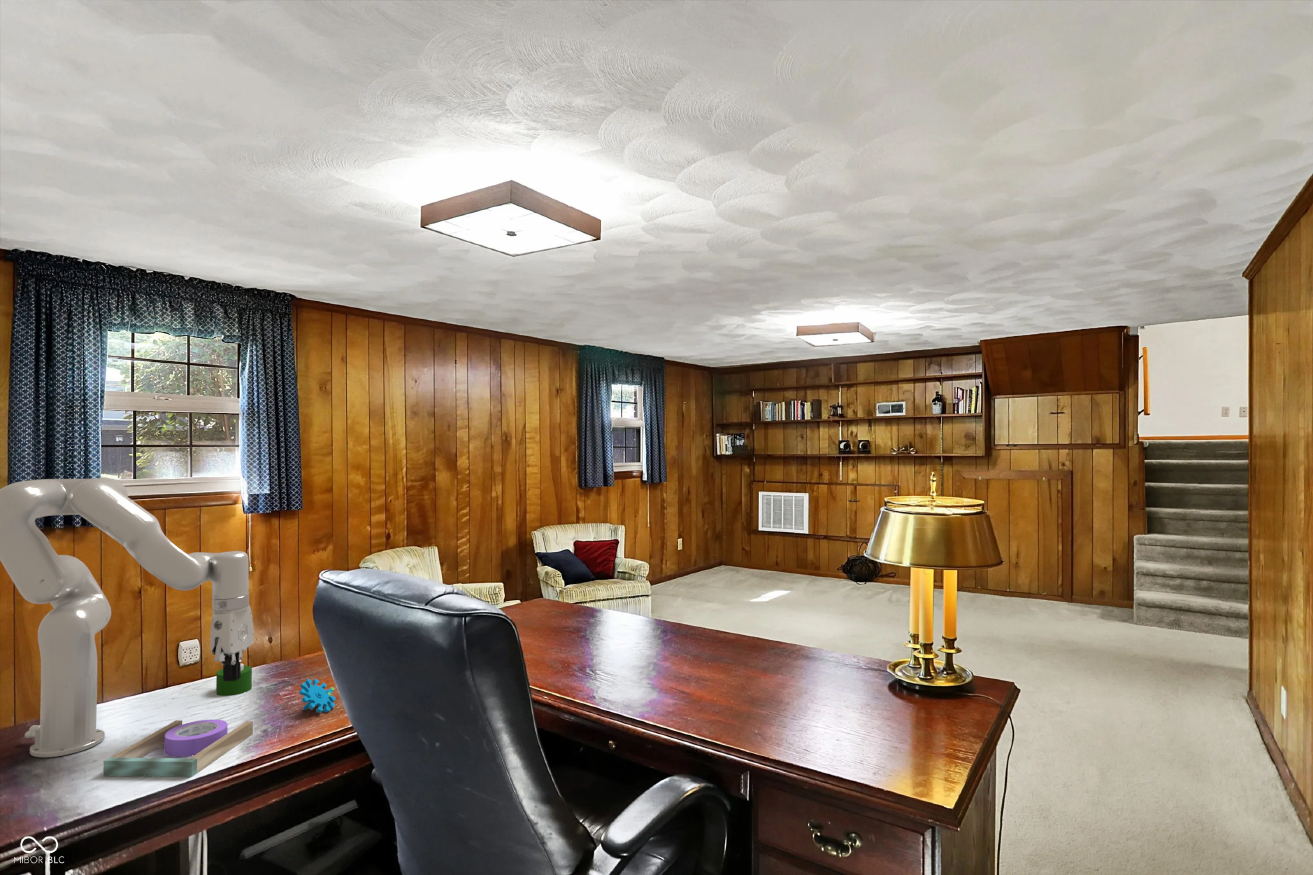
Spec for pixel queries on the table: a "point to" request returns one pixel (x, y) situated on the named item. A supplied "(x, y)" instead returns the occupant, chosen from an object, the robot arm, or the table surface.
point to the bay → (135, 765)
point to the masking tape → (193, 737)
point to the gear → (317, 696)
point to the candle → (234, 683)
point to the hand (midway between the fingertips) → (232, 679)
